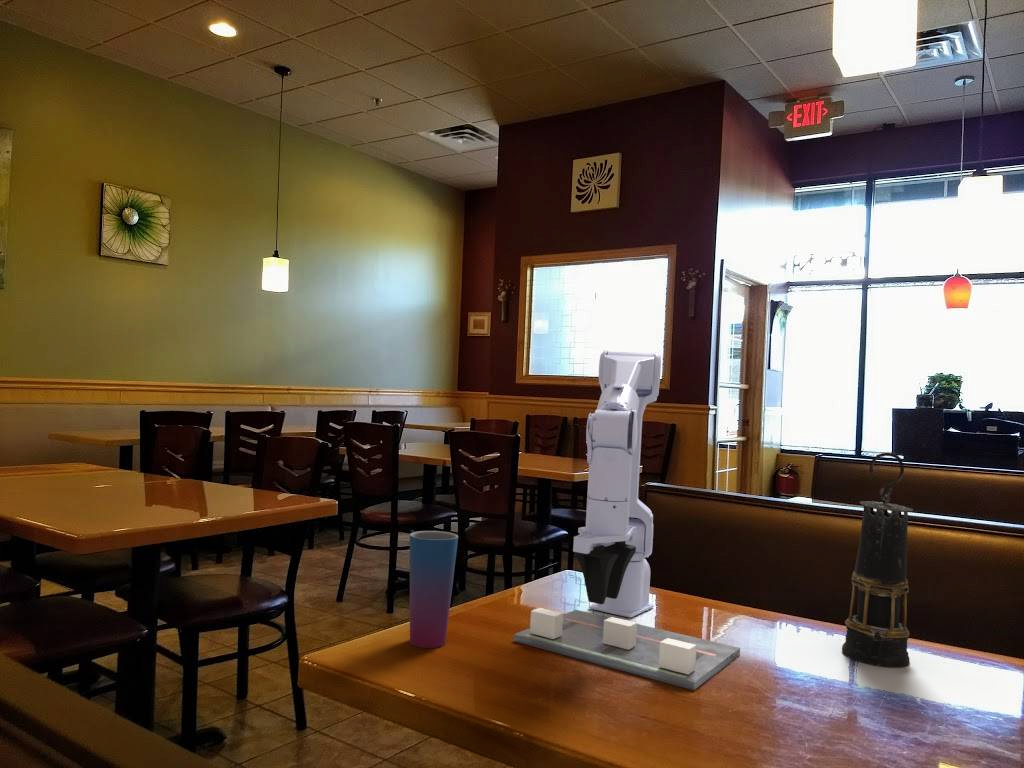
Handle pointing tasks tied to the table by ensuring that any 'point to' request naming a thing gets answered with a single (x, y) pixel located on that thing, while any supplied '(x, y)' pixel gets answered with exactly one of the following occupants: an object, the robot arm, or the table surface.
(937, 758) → the table surface
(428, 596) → the cup
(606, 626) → the breaker mid
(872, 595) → the lantern
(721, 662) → the panel
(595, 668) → the table surface
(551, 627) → the breaker
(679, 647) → the block
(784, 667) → the table surface
